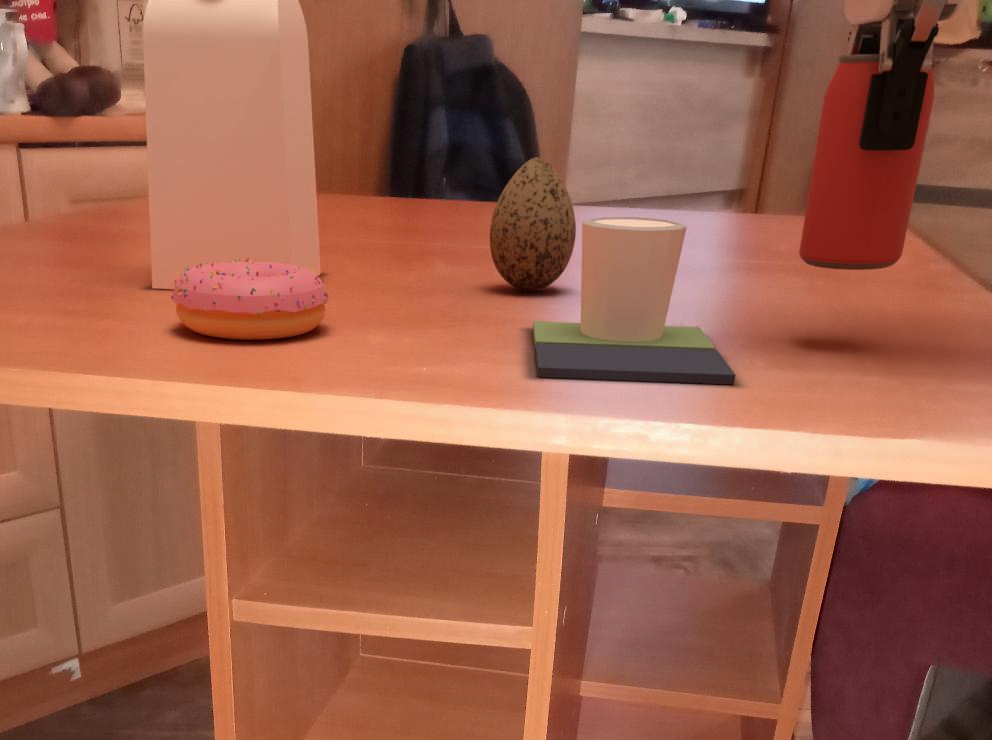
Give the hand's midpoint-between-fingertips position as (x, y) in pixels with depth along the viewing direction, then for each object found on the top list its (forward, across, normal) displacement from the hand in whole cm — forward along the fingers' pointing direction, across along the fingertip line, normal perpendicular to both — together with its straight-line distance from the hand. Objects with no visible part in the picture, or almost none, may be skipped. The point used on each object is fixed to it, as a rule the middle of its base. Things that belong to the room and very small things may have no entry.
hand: (869, 143), depth 74 cm
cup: (+11, -2, +15) cm, 19 cm away
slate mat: (+12, -10, +15) cm, 22 cm away
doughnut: (+11, -2, +41) cm, 43 cm away
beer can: (+7, 0, 0) cm, 7 cm away
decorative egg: (+12, +19, +21) cm, 31 cm away
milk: (+11, +19, +46) cm, 51 cm away
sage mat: (+12, -2, +15) cm, 19 cm away
